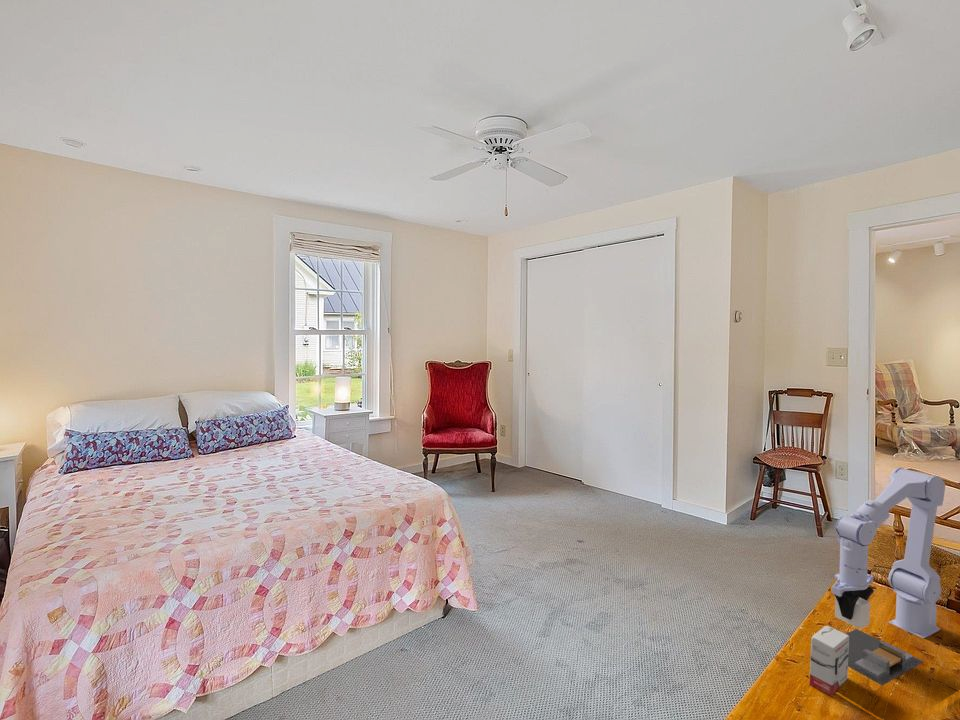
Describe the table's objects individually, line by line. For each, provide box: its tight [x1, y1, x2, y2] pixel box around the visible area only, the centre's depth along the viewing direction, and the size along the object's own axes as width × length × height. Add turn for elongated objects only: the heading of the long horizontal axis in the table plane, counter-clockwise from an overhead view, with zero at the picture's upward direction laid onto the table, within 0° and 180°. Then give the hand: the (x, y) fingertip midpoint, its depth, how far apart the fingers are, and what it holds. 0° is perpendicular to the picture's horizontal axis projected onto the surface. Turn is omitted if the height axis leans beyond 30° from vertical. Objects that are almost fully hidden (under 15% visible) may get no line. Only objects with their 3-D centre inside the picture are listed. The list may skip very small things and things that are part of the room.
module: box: [834, 596, 871, 630], centre depth 130 cm, size 4×6×6 cm, turn 25°
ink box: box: [808, 625, 849, 697], centre depth 118 cm, size 8×5×12 cm, turn 123°
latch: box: [872, 648, 901, 667], centre depth 124 cm, size 5×5×1 cm
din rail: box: [846, 628, 924, 686], centre depth 127 cm, size 18×15×4 cm
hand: (851, 615), depth 130 cm, fingers closed on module, 4 cm apart
